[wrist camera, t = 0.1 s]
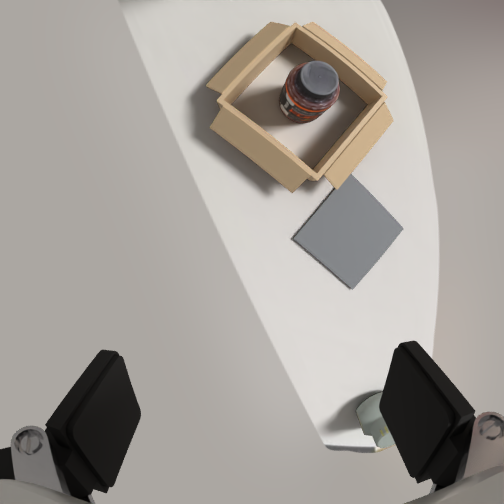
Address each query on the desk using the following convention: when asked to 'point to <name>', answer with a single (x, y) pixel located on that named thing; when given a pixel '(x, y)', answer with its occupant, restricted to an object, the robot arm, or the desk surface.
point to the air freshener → (374, 422)
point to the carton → (267, 147)
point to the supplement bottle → (309, 91)
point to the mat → (349, 232)
